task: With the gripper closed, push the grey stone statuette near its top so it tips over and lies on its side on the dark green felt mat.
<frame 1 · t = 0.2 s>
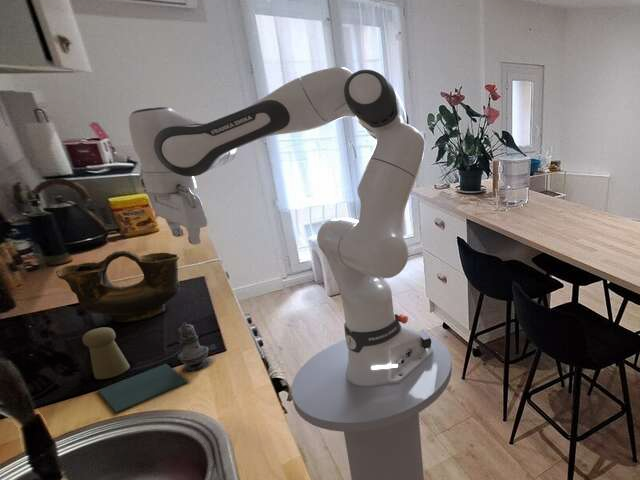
hand: (186, 239, 98), 29 cm above the counter, tool pointing down, fingers open, 8 cm apart
pottery vessel: (139, 315, 121), on the counter
grey stone statuette: (197, 365, 99), on the counter
cork: (112, 371, 96), on the counter
felt mat: (143, 387, 91), on the counter
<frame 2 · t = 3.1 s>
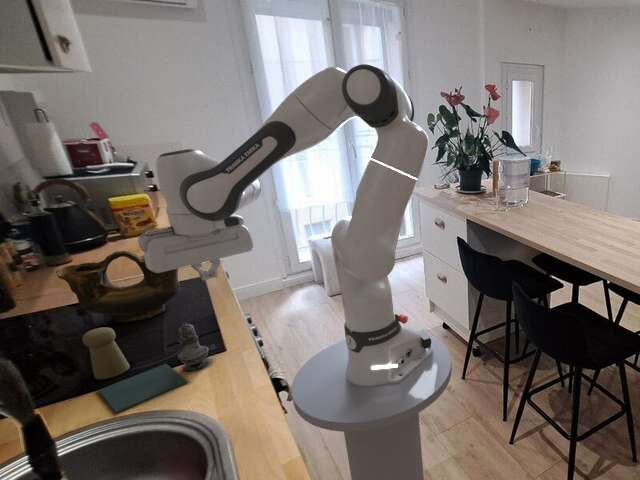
hand: (209, 278, 98), 21 cm above the counter, tool pointing down, fingers closed
nothing on the counter moved.
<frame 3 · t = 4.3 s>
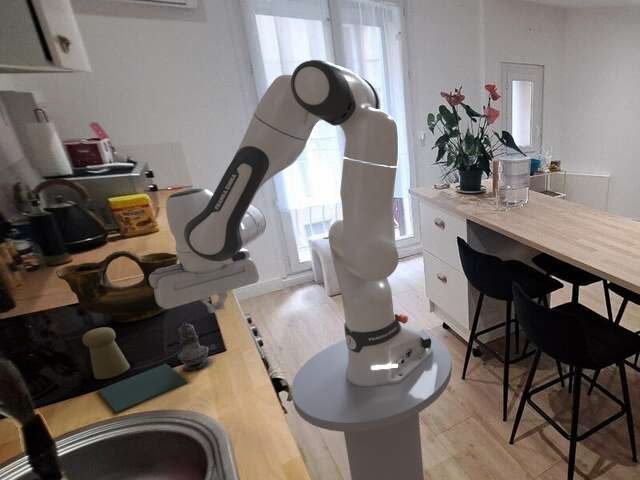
hand: (216, 310, 101), 12 cm above the counter, tool pointing down, fingers closed
nothing on the counter moved.
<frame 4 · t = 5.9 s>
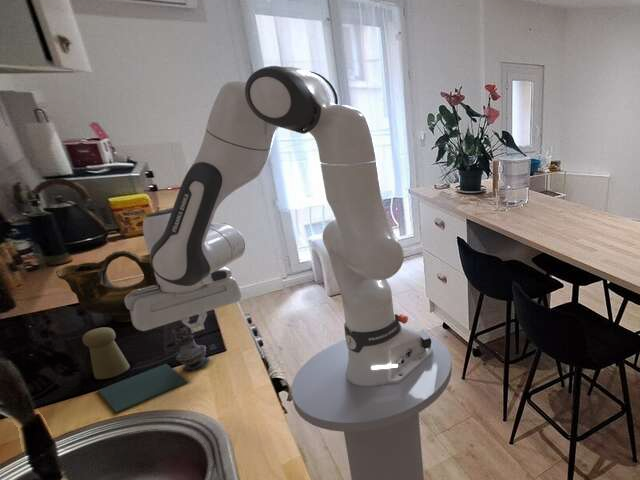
hand: (196, 330, 98), 9 cm above the counter, tool pointing down, fingers closed
grey stone statuette: (197, 365, 99), on the counter, touching gripper
everything else where it was.
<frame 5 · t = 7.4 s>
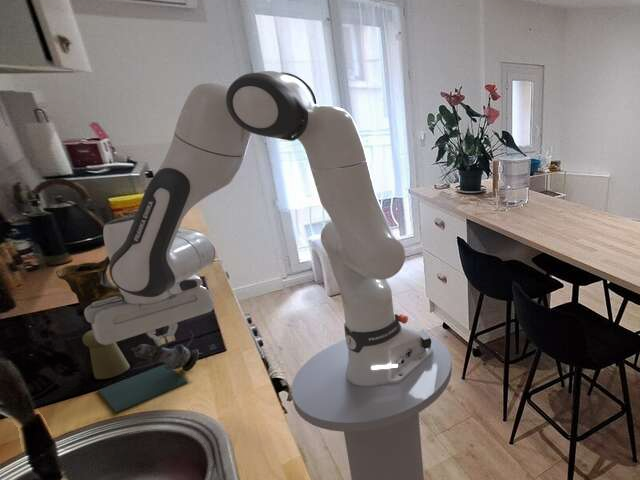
hand: (165, 342, 93), 8 cm above the counter, tool pointing down, fingers closed
grey stone statuette: (191, 360, 98), point 2 cm above the counter, touching gripper
everything else where it was.
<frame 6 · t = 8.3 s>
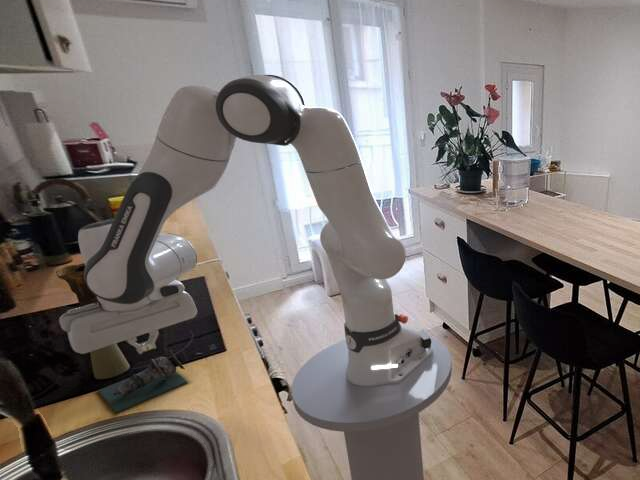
hand: (147, 350, 91), 8 cm above the counter, tool pointing down, fingers closed
grey stone statuette: (178, 359, 95), point 4 cm above the counter, touching felt mat
everything else where it was.
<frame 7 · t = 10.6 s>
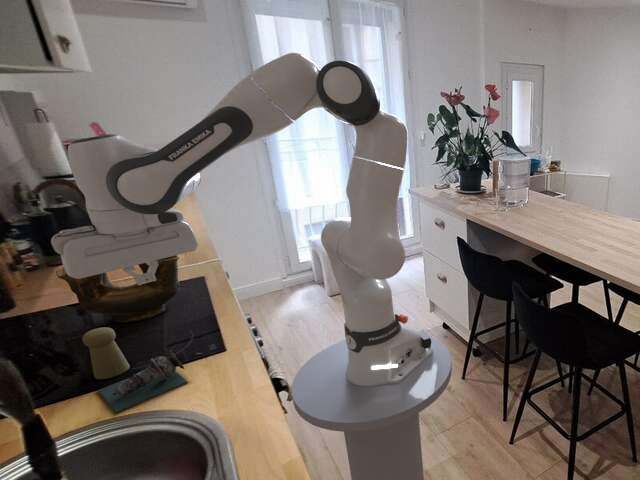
hand: (146, 282, 86), 24 cm above the counter, tool pointing down, fingers closed
nothing on the counter moved.
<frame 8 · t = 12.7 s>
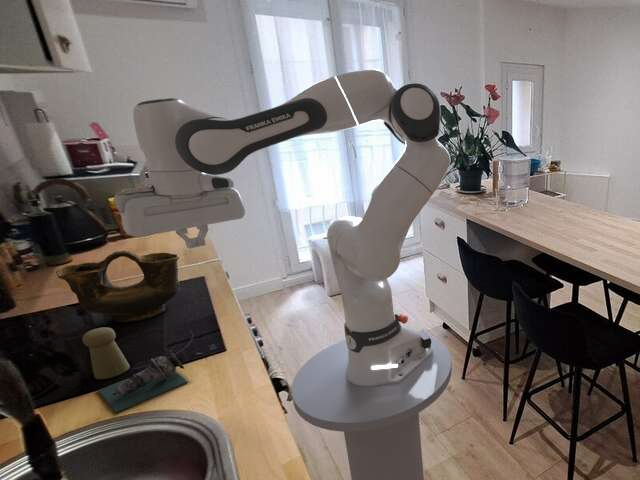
hand: (196, 246, 88), 31 cm above the counter, tool pointing down, fingers closed
nothing on the counter moved.
at the end: grey stone statuette tilted 103°; grey stone statuette inside the target area (2.2 cm from its centre), point 4.1 cm above the counter; grey stone statuette touching felt mat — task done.
